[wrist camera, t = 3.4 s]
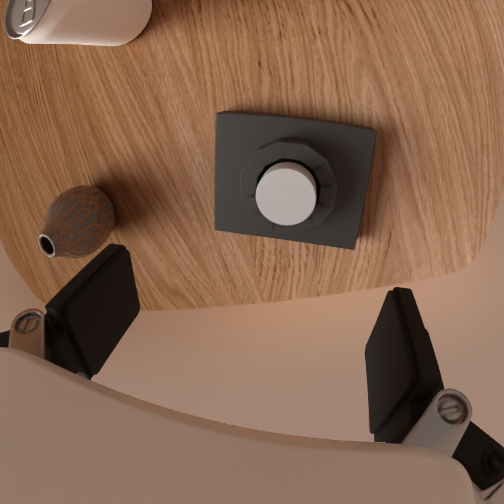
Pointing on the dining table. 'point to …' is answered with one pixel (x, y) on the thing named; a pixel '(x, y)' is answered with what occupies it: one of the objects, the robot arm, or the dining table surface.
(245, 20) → the dining table surface
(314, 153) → the button base
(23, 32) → the can
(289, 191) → the white button cap
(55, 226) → the vase
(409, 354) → the robot arm
